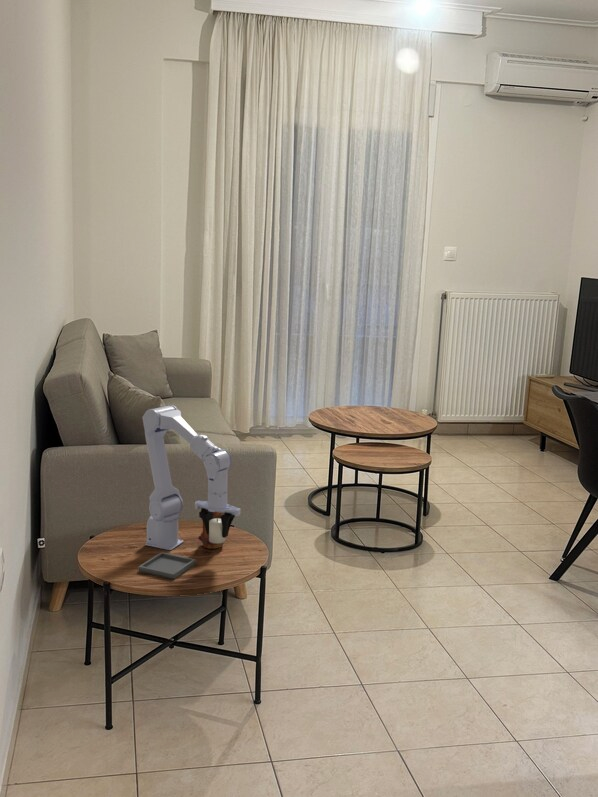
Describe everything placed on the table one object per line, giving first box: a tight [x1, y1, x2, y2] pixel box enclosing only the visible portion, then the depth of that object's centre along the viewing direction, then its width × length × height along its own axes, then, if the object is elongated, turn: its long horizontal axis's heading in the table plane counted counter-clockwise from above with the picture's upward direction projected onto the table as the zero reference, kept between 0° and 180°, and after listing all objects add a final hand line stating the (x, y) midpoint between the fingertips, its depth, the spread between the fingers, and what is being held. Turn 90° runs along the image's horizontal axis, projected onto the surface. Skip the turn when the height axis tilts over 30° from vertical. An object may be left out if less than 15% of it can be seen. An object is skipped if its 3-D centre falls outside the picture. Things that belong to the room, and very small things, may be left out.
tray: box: [137, 551, 197, 581], centre depth 236 cm, size 12×12×2 cm
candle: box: [209, 518, 226, 544], centre depth 239 cm, size 5×5×7 cm
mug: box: [198, 512, 226, 550], centre depth 254 cm, size 15×8×15 cm, turn 168°
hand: (217, 534), depth 239 cm, fingers closed on candle, 5 cm apart
